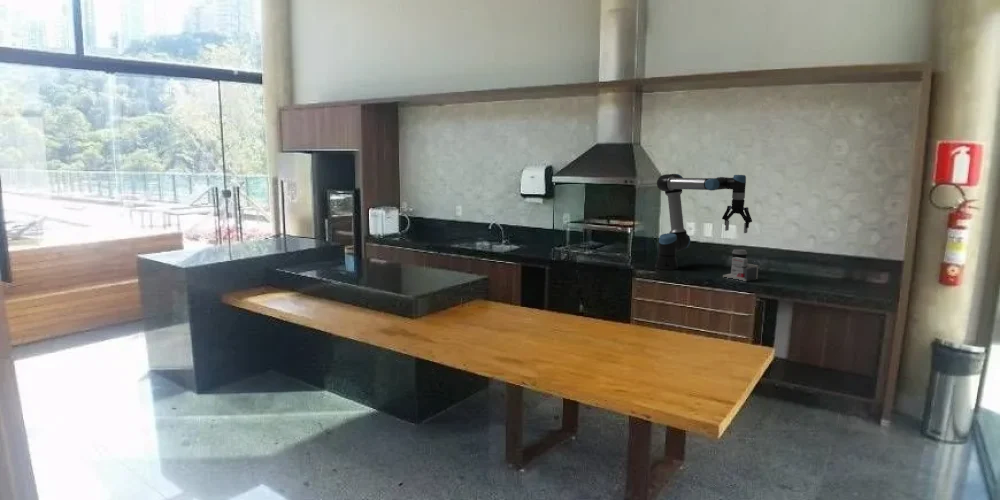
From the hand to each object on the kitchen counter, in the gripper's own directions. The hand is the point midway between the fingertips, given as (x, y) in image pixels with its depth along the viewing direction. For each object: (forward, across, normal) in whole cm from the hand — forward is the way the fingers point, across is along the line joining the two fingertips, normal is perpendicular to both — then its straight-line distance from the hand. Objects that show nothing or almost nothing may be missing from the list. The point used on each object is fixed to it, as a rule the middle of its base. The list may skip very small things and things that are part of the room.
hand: (736, 231), depth 376 cm
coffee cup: (+29, -3, +10) cm, 31 cm away
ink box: (+27, +8, -6) cm, 29 cm away
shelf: (+29, +8, -5) cm, 30 cm away
